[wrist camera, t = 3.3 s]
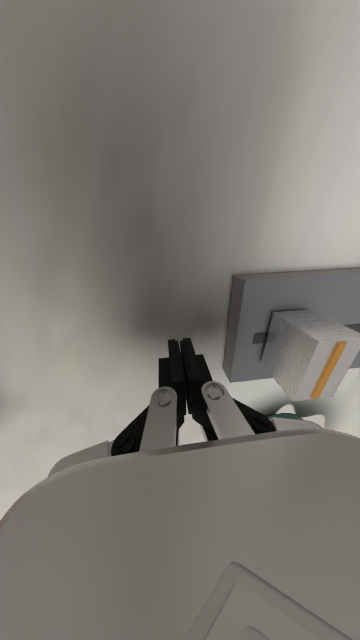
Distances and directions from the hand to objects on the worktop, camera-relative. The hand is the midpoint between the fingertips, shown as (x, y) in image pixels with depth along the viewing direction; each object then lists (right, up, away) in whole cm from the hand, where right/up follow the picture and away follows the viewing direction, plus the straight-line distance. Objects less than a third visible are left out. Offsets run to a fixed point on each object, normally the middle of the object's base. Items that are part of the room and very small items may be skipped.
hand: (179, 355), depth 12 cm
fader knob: (+9, +1, +2) cm, 9 cm away
